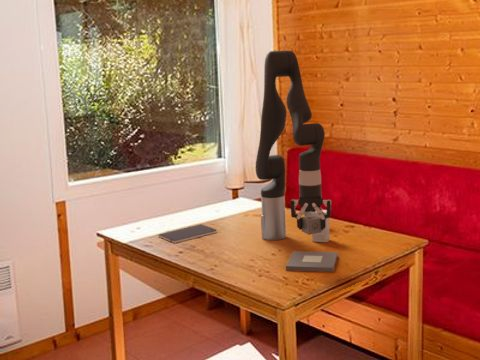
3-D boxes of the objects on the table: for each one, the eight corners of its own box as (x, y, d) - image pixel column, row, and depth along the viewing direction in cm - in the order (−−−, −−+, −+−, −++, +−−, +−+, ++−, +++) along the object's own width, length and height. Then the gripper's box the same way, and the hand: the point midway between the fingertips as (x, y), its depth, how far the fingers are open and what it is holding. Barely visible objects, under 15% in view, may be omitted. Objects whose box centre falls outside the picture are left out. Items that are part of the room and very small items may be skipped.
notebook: (201, 227, 264) (158, 238, 252) (201, 224, 264) (158, 234, 251) (217, 233, 254) (174, 244, 242) (217, 229, 254) (173, 240, 241)
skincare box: (330, 239, 236) (329, 210, 233) (326, 242, 232) (326, 212, 229) (315, 238, 238) (314, 209, 236) (311, 241, 234) (310, 211, 232)
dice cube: (301, 231, 209) (301, 217, 208) (314, 228, 211) (313, 215, 210) (308, 234, 205) (308, 220, 204) (321, 232, 207) (321, 218, 206)
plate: (286, 270, 205) (285, 265, 204) (293, 254, 220) (293, 250, 220) (333, 272, 201) (333, 267, 201) (337, 256, 216) (337, 252, 216)
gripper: (287, 184, 203) (289, 232, 206) (330, 184, 199) (331, 232, 203) (290, 180, 210) (292, 226, 213) (332, 180, 207) (333, 226, 210)
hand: (311, 229), depth 208 cm, fingers closed on dice cube, 7 cm apart
